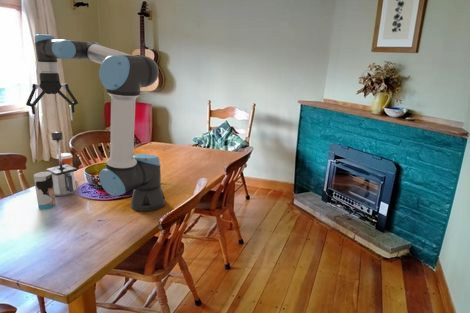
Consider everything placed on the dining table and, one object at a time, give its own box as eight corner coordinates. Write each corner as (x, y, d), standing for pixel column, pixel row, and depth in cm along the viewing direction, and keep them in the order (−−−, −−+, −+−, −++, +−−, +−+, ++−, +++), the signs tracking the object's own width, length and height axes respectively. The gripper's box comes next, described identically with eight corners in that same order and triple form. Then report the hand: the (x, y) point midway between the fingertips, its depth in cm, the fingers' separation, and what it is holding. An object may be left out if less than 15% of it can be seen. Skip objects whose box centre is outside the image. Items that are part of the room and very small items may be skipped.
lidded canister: (83, 193, 158) (80, 169, 154) (61, 200, 150) (58, 175, 146) (69, 186, 165) (66, 163, 162) (48, 193, 157) (44, 168, 154)
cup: (53, 209, 141) (49, 176, 137) (36, 210, 139) (31, 177, 135) (57, 202, 147) (53, 171, 143) (41, 203, 146) (36, 172, 141)
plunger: (73, 175, 157) (68, 132, 151) (58, 179, 151) (52, 134, 145) (66, 172, 161) (60, 130, 155) (50, 175, 155) (44, 132, 149)
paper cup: (68, 182, 170) (65, 157, 166) (55, 181, 172) (52, 155, 168) (78, 177, 178) (75, 153, 174) (66, 176, 179) (63, 152, 175)
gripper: (79, 72, 151) (84, 117, 157) (15, 71, 140) (23, 120, 146) (81, 73, 145) (85, 120, 151) (13, 72, 134) (21, 123, 140)
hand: (55, 120), depth 149 cm, fingers open, 13 cm apart
